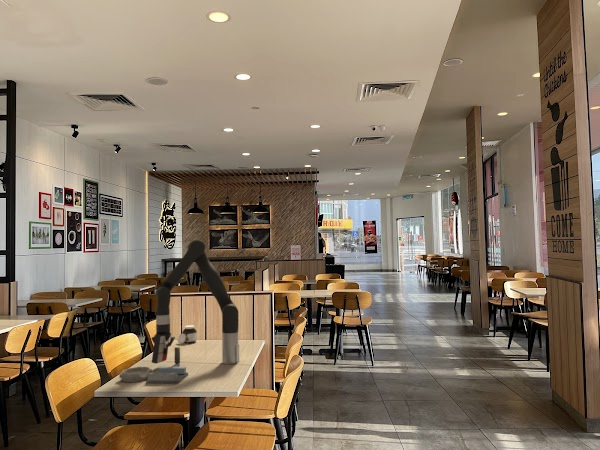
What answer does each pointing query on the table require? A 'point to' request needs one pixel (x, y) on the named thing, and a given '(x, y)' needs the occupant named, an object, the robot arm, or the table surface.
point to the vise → (165, 378)
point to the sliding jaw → (175, 367)
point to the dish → (135, 374)
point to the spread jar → (188, 335)
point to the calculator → (158, 349)
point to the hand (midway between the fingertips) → (163, 354)
